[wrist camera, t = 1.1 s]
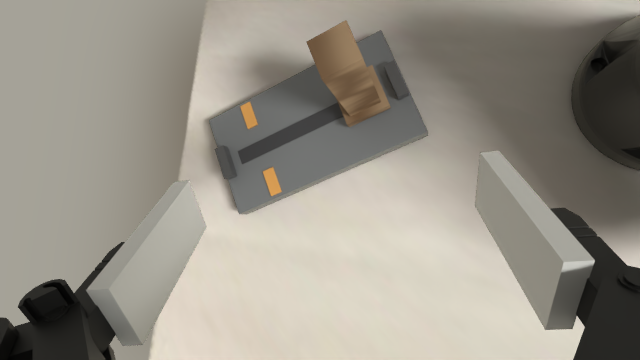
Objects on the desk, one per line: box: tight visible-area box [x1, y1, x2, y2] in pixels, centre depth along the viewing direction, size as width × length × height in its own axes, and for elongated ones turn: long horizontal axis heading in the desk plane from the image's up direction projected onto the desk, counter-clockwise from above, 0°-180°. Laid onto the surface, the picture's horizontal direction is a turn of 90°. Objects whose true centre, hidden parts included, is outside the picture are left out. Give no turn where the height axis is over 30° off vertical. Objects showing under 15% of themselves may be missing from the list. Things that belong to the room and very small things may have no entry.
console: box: [209, 30, 428, 214], centre depth 42 cm, size 24×13×3 cm, turn 111°
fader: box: [307, 21, 391, 127], centre depth 34 cm, size 5×5×12 cm
